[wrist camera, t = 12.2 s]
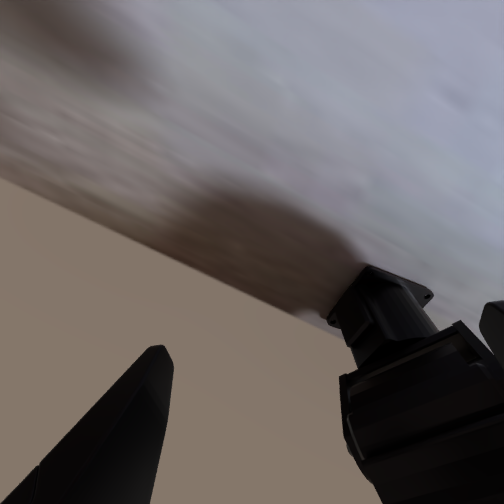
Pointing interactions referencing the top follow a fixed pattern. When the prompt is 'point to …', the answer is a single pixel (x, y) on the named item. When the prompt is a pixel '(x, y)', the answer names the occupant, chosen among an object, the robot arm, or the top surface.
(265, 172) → the top surface
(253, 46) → the top surface
